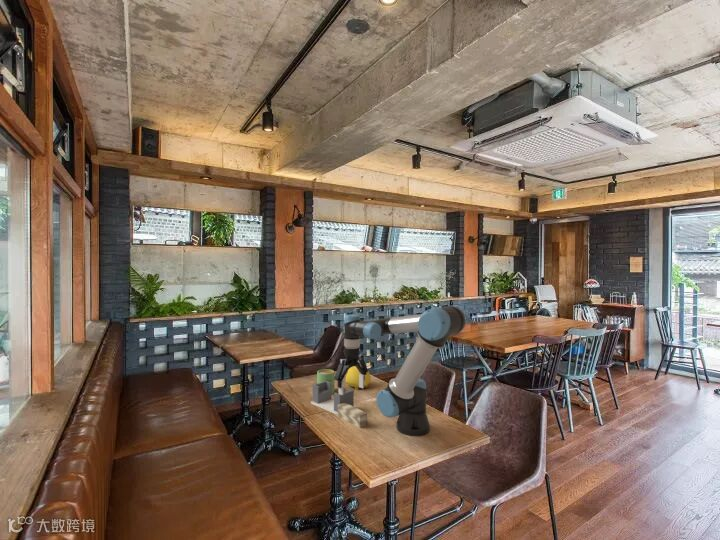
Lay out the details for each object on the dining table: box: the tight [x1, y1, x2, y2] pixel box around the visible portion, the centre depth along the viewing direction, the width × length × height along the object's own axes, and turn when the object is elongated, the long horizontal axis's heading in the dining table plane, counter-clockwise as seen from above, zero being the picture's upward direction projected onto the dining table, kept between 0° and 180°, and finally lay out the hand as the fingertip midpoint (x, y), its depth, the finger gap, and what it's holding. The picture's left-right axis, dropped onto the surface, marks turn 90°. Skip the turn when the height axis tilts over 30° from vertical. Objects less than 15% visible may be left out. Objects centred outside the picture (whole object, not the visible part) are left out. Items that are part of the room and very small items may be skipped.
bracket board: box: [310, 381, 355, 416], centre depth 199 cm, size 23×11×10 cm, turn 45°
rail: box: [337, 403, 368, 429], centre depth 182 cm, size 17×4×6 cm, turn 40°
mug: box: [316, 368, 335, 395], centre depth 223 cm, size 13×10×12 cm
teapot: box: [345, 365, 372, 391], centre depth 234 cm, size 20×16×14 cm
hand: (351, 390), depth 182 cm, fingers open, 13 cm apart
